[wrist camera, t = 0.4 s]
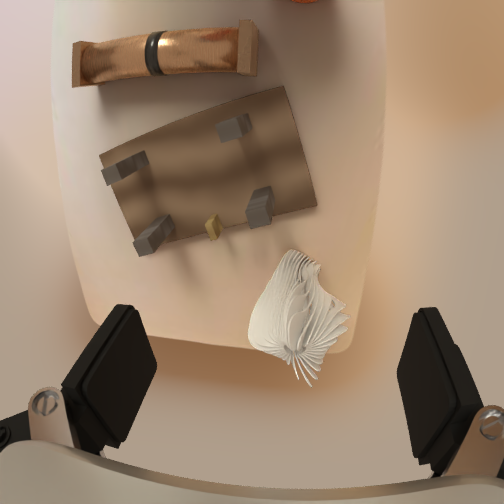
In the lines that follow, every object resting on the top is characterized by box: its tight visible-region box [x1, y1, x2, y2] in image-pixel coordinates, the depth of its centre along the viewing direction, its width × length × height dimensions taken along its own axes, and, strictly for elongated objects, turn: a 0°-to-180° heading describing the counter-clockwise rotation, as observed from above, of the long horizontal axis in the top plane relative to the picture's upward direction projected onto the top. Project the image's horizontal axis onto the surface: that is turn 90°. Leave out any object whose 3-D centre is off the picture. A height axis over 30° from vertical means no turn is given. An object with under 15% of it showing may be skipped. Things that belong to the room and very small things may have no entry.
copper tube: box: [72, 20, 259, 88], centre depth 28 cm, size 20×6×6 cm, turn 87°
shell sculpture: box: [248, 249, 350, 387], centre depth 34 cm, size 8×8×18 cm
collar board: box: [99, 86, 317, 257], centre depth 34 cm, size 14×24×8 cm, turn 107°
